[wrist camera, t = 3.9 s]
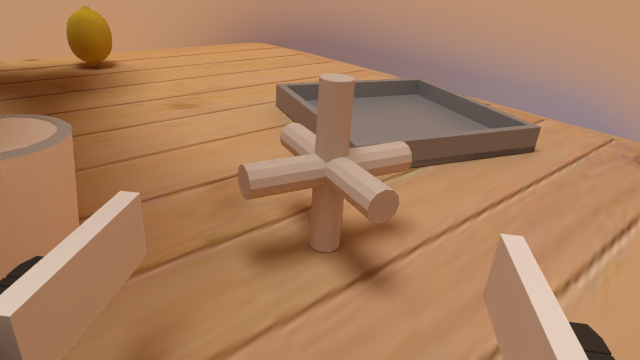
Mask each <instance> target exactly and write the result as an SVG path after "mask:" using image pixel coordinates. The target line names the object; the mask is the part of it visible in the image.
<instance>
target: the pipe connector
mask: <svg viewBox="0 0 640 360" xmlns="http://www.w3.org/2000/svg"><path fill="white" fill-rule="evenodd" d="M354 88H355V78H354V77H352V76H349V75H344V74H322V75H320V76H319V93H318V109H317V125H316V135H315V134H314V133H313V132H311V131H310V130H308V129H307V128H306V127H304V126H303V125H301V124H300V123H294V122H293V123H291V124H288V125H286V127H285V128H284V129H283V130H282V132H281V136H280V140H281V144H282V145H283V146H284V147H285V148H286V149H288V150H289V151H290V152H291V153H292V154H293V155H295V157H288V158H281V159H274V160H267V161H260V162H253V163H247V164H241V165H240V166H239V170H238V179H239V186H240V190H241V193H242V195H243V197H244V198H245V199H247V200H249V199H254V198H260V197H265V196H271V195H276V194H282V193H287V192H293V191H298V190H304V189H309V188H313V190H312V206H311V222H310V238H309V244H310V246H311V247H312V248H313V249H314V250H316V251H319V252H332V251H335V250H336V249H338V247H339V244H340V233H341V223H342V213H343V202H344V198H345V199H346V200H347V201H348V202H349V203H350V204H352V205H353V206H354V207H355V208H356V209H357V210H359V211H360V212H361V213H362V214H363V215H364V216H365V217H367V218H368V219H369V220H370V221H371V222H372V223H375V224H382V223H384V222H386V221H388V220H389V219H390V218H391V217H392V216H393V215H394V214H395V213H396V210H397V208H398V205H399V197H398V195H397V194H396V192H395V191H394V190H392V189H391V188H390V187H388V186H387V185H385V184H384V183H383V182H381V181H380V180H378V179H377V178H376V177H375V176H380V175H386V174H391V173H397V172H402V171H406V170H407V169H409V168H410V165H411V163H412V153H411V150H410V148H409V146H408V145H407V144H406V143H405V142H401V141H398V142H391V143H384V144H378V145H371V146H364V147H357V148H350V149H349V140H350V129H351V119H352V109H353V98H354Z"/></svg>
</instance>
